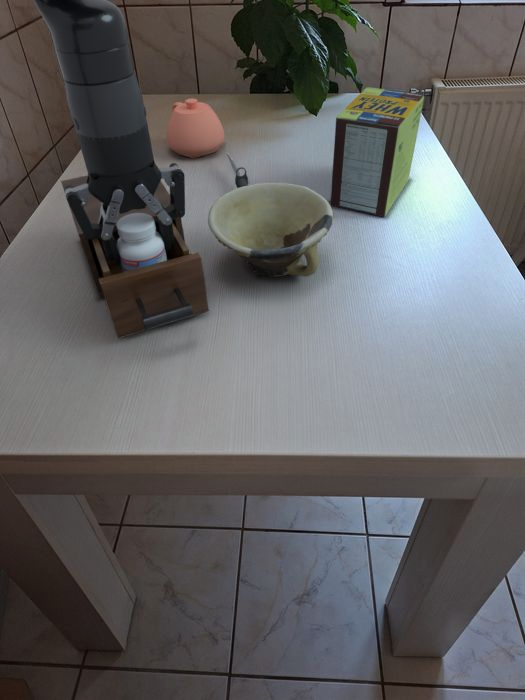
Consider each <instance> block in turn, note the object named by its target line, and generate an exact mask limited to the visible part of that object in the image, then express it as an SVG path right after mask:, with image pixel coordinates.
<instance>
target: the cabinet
mask: <svg viewBox="0 0 525 700" xmlns="http://www.w3.org/2000/svg"><path fill="white" fill-rule="evenodd" d="M87 178H88V174H87V175H83V176H78V177H73V178H70V179H64V180H61V181H60V182H61V185H62V188H63V190H64V188H65V187H66V186H68V185H70V186H73V187H77V186H80V185H83V184H86V182H87ZM154 195H155V196H156V198H157V199H158V200H159V202H160V203H161V204H162V205H163V207H164V208H166V207H167V206H169V205H170V192H169V191H168V189H167V188H166V187H165V185H164V183H163V182H162V181H160V183H159V185H158V187H157V189H156V191H155V193H154ZM87 201H88V203H87V205H86V206H84V210H85V212H86V214H87V216H88V218H89V220H90V222H91V223H97V224H98V221H99V217H100V208H101V203H102V202H101V201H99V200H98V199H97V198H95V197H94V196H93V195H91V194H89V195H88V197H87ZM67 204H68V207H69V211H70V214H71V216H72V219H73V222H74V226H75V228H76V231H77V235H78V238H79V240H80V243H81V246H82V247H81V248H82V249H83V253H84V255H85V258H86V261H87V265H88V268H89V270H90V272H91V276H92V279H93V282H94V285H95V288H96V291H97V294H98V297H99V299H105V297H104V294H103V291H102V288H101V285H100V282H99V278H103V275H102V272H101V270H100V266H99V263H98V260H97V257H96V254H95V251H94V248H93V244H92V241H91V240H88V239H86V238H85V236H84V234H83V232H82V230H81V228H80V226H79V224H78V222H77V220H76V218H75V216H74V214H73V212H72V209H71V207H70V205H69V203H68V202H67ZM145 207H146V208H144V209H133V210H130V211H128V212H127V213H122V214H120V213H119V214H118V218H117V221H118V220H119V219H120V218H122V217H124V216H126V215H129V214H133V213H145V214H148V215H150V216H152V217H153V219H154V222H157V221H158V219H159V218H158V217H157V216H156V215H155V214H154V213H153V212H152V210H151V209H150V208H149V207H148V206H145ZM116 224H117V222H116ZM116 224H115V225H114V228H113V232H116V231H118V230H117V226H116ZM173 224H174V226H175V227H176V229H177V231H178V232H179V234H180V236H181V237H182V239H183V241H184V242H185V243H186V240H185V233H184V228H183V221H182V217H181V218H179V217H177V218H176V219H174V220H173Z"/></svg>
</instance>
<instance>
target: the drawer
mask: <svg viewBox="0 0 525 700" xmlns="http://www.w3.org/2000/svg"><path fill="white" fill-rule="evenodd" d="M155 226H156V232H158V233H159V234H160V229H159V224H158V221H157V222H155ZM172 227H173V233H174V238H175V243H174V245H171V248H172V250H168V251H166V256H167V261H163V262H160V263H156V264H152V265H148V266H145V267H141V268H137V269H133V270H129V271H126V272H122V268H121V265H120V263H118V264H115V262H114V260H113V261H110V260H109V259H108V257H107V255H106V252H105V249H104V245H103V242H102V240H101V239H99V238H93V239H91V241H92V244H93V248H94V251H95V254H96V257H97V260H98V263H99V266H100V270H101V272H102V275H103V278H99V282H100V285H101V288H102V291H103V294H104V300H105V303H106V306H107V309H108V312H109V316H110V318H111V321H112V324H113V327H114V330H115V333H116V337H117V339H121V338H123V337H127V336H130V335H134V334H137V333H140V332H144V331H146V330H150V329H154V328H158V327H160V326H163V325H168V324H170V323H173V322H174V323H175V322H177V321H180V320H183V319H187V318H190V317H194V316H196V315H200V314H204V313H208V312H209V309H210V308H209V303H208V294H207V288H206V281H205V275H204V266H203V260H202V256H201V254H200V252H199V251H198V252H194V253H191V252H190V249H189V247H188V246H187V244H186V241H185V242H184V241H183V239H182V237H181V236H180V234H179V232H178V231H177V229H176V227H175V226H174V224H173V222H172ZM112 235H113V237H114V239H115V243H116V245H117V241H118V239H119V238H120V236H119V235H118V231H116V232H112ZM160 235H161V234H160Z"/></svg>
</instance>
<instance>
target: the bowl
mask: <svg viewBox="0 0 525 700" xmlns="http://www.w3.org/2000/svg"><path fill="white" fill-rule="evenodd" d="M333 219H334V212H333V209H332V205H330V202H328V201H327V200H326V198H325V197H324V196H323V195H321V194H320V193H318V192H316V191H314V190H313V189H311V188H309V187H306V186H303V185H299V184H295V183H284V182H261V183H254V184H248V186H244V187H240V188H237V187H236V188H234V189H232V190H229V191H228V192H226V193H223V195H221V196H220V197H218V198H217V200H215V201H214V203H213V204H212V205H211V206H210V208H209V211H208V216H207V224H208V227H209V230H210V232H211V233H212V234H213V236H214V238H215V239H216V240H217V242H218V243H219V244H221V245H222V246H224V247H226V248H227V249H229V250H232V251H234V252H235V253H236V254H237V255H238V256H240V257H241V258H242V259H244V260H245V261H246V262H247V265H248V267H249V268H250V269H251V271H252V272H254V273H256V274H258V275H262V276H265V277H271V278H272V277H283V276H286V275H292V276H296V277H310V276H313V275H314V274H315V273H316V272H317V270H318V268H319V265H320V259H319V258H320V257H319V252H318V244H319V243H321V241H322V240H323V238H324V237H325V236H326V235H327V234H328V232H329V231H330V229H331V227H332V225H333ZM303 256H304V258H305V260H306V264H303V263H301V260H302V258H303Z"/></svg>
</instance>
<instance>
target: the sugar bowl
mask: <svg viewBox="0 0 525 700" xmlns="http://www.w3.org/2000/svg"><path fill="white" fill-rule="evenodd" d="M184 101H185V102H184V103H183V102H180V101H177V102H174V103H173V105H172V107H171V110H172V111H171V112H172V113H171V115H170V117H169V121H168V123H167V127H166V143H167V144H168V146H169V147H170V149H172V150H173V151H174V152H175V153H176V154H178V155H180V156H184V157H189V158H190V159H195V160H196V159H198V158H199V157H202V156H207V155H210V154H213V153H215V152H217V151H218V150H219V149H220V147H222V145H223V143H224V142H225V138H226V137H225V131H224V127H223V124H222V122H221V119H220V118H219V116H218V115H217V113H216V112H215V111H214V110H213V108H212V107H211V106H210V105H209V104H208V103H206V102H201V101H198V99H196V98H187V99H185V100H184Z"/></svg>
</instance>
